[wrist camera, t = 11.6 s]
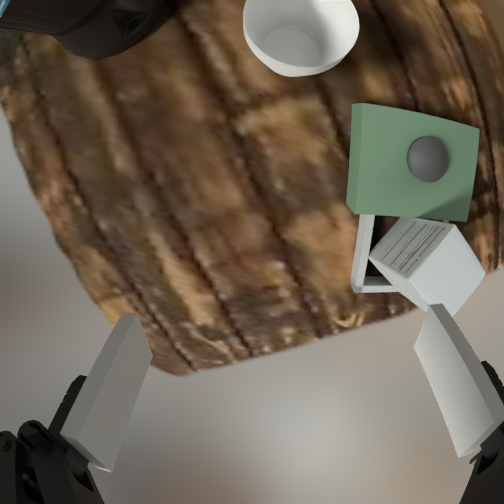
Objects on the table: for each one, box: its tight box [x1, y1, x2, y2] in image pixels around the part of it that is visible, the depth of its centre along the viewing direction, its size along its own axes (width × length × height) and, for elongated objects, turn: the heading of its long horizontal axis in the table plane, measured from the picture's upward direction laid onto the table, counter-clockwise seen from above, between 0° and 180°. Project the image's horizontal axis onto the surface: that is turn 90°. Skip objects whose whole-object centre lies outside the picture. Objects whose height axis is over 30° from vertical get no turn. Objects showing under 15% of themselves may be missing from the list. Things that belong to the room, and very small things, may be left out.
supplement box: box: [368, 217, 486, 317], centre depth 29 cm, size 7×7×13 cm
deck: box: [346, 103, 480, 292], centre depth 31 cm, size 23×16×5 cm
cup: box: [243, 0, 359, 77], centre depth 22 cm, size 9×9×12 cm
